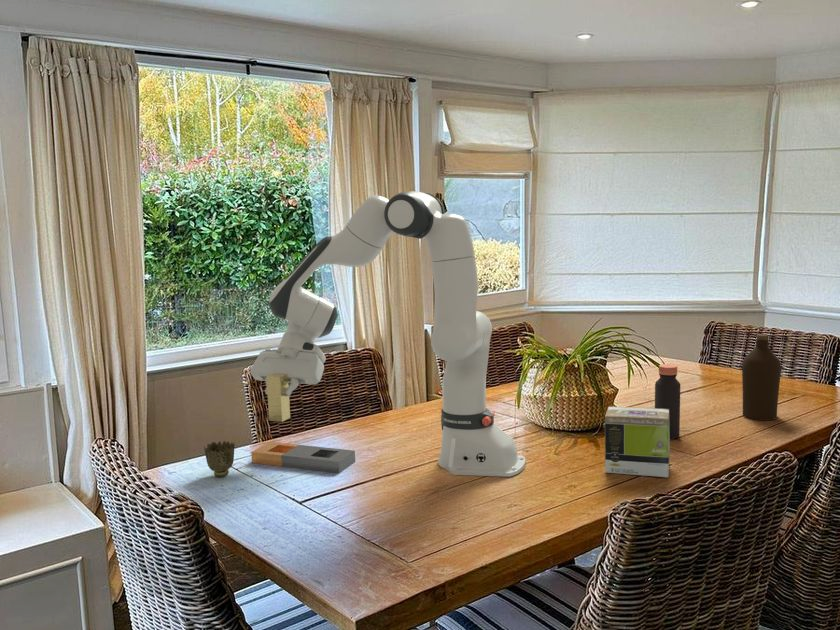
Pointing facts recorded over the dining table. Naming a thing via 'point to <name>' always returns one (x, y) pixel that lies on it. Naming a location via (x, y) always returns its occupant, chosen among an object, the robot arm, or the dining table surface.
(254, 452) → the rail
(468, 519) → the dining table surface
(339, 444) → the dining table surface
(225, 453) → the cup
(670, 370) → the bottle
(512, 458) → the robot arm
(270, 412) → the yellow rectangular block
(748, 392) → the olive oil
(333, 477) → the dining table surface
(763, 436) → the dining table surface
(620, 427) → the tea box
